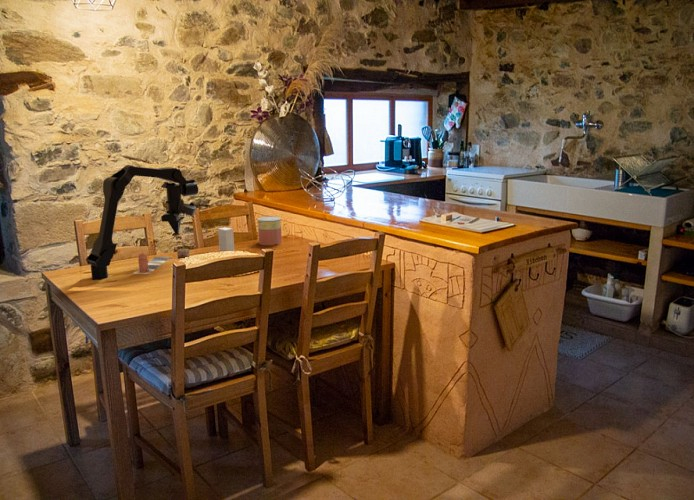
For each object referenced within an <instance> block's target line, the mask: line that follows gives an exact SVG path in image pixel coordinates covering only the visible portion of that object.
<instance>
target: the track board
mask: <svg viewBox="0 0 694 500" xmlns="http://www.w3.org/2000/svg"><path fill="white" fill-rule="evenodd" d="M171 259H173V258H172V257H170V256H162V257H161V256H159V257H158V256H155V257H154V258H152V259H151V260H149V261H148V270H149V271H148V272H145V273H141V272H140V271H139V269H137V270H136V271H134V272H133V273H132V274H133V275H147V274H148V275H150V274H151V273H152V272H153V271H155V270H156V269H157V268H159V267H161V266H162V265H163V264H164V263H165V262H166V261H169V260H171Z"/></svg>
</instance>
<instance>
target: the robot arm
mask: <svg viewBox="0 0 694 500" xmlns="http://www.w3.org/2000/svg"><path fill="white" fill-rule="evenodd" d="M134 177H147V178H156V179H160V180H163V181H164V182H163V183H162V184H161V186H160V187H161V189H162V188H163V189H166V200H165V204H167V210H166V213H164V214H162V216H160V220H161V222H167V223H168V224H169V226H170V228H171V229H172V231H173V232H174V234H175V235H179V234H180V228H181V223H182V221H183V220H184V219H185V218H186V216H187V215H188V216H191V217H192V216H193V215H195V213H196V210H197V206H196V203H195V202H193V201H191V202H189V203H185V201H184V199H183V198H182V197H190V196H197V195H198V194H199V186H198V184H197V183H196V181H195V179H193V178H191V179H186V178H185V176H184V175H183V174H182V171H181V169H180V168H177V167H171V166H169V167H167V166H166V167H159V168H152V167H143V166H141V167H140V166H135V165H131V164H129V165H127V164H126V165H125V166H123V167H122V168H121V169H120V170H118V171H117V172H115V173H113V174H112V175H111V176H108V177H106V178H105V179H104V180H103V182H102V193H103V197H104V204H103V209H102V215H101V221H100V227H99V232H98V237H97V238H96V240H95V241H94V243H93V245H92V247H91V252H90V253H89V254H88V256H87V257H86V259H85V261H86V263H87V265H89V266H90V271H91V272H90V273H91V279H92V281H101V280H105V279H107V278H109V273H108V266H111V261H112V259H113V258H114V255H116V248H117V246H118V245H117V243H115V242H113V234H114V228H115V223H116V217H117V210H118V205H119V201H120V200H121V198H122V197H123V195H124V194H125V193H124V192H125V190H126V187H127V186H128V185H129V184H130V183H131V182H132V180H133V179H134ZM182 214H183V215H184V214H185V215H186V216H183V215H182Z"/></svg>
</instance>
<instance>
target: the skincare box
mask: <svg viewBox="0 0 694 500" xmlns="http://www.w3.org/2000/svg"><path fill="white" fill-rule="evenodd" d="M217 232H218V248H219V251H218V252H219V253H220V251H234V252H235V242H234V241H235V240H234V239H235V238H234V236H235V235H234V229H233V228H231V227H230V228H229V227H220V228H218V230H217Z"/></svg>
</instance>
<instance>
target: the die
mask: <svg viewBox="0 0 694 500" xmlns="http://www.w3.org/2000/svg"><path fill="white" fill-rule="evenodd" d="M189 256H190V249H189V248H179V249H177V259H178V260H181V259H180V258H185V257H189Z"/></svg>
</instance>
